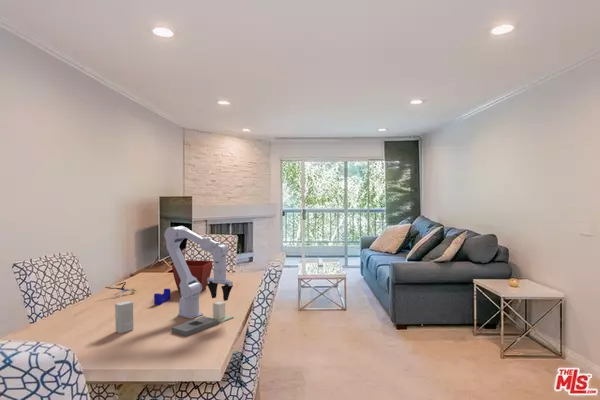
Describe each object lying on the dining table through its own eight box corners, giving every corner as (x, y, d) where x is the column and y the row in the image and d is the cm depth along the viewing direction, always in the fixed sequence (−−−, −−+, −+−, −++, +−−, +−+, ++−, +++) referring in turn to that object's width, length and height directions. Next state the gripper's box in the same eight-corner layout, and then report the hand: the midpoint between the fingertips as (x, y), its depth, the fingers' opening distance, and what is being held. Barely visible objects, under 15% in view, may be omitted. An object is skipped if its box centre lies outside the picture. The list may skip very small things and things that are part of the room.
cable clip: (162, 299, 218) (162, 288, 218) (170, 299, 217) (170, 288, 217) (151, 305, 206) (151, 293, 206) (159, 305, 205) (159, 294, 205)
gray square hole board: (171, 332, 165) (171, 327, 165) (203, 320, 180) (203, 316, 180) (186, 336, 160) (186, 331, 160) (217, 324, 176) (217, 319, 175)
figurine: (137, 306, 227) (101, 302, 215) (135, 298, 234) (100, 293, 223) (143, 291, 225) (107, 286, 214) (141, 283, 232) (106, 278, 221)
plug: (213, 318, 182) (212, 303, 182) (219, 315, 185) (219, 301, 185) (219, 319, 180) (219, 304, 180) (225, 317, 183) (225, 302, 183)
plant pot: (213, 287, 245) (213, 260, 245) (202, 294, 226) (202, 266, 226) (184, 286, 247) (184, 259, 247) (171, 294, 228) (171, 265, 228)
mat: (206, 319, 182) (206, 318, 182) (219, 314, 189) (219, 313, 189) (220, 323, 177) (220, 321, 177) (233, 317, 184) (233, 316, 184)
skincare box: (128, 327, 171) (128, 300, 170) (133, 329, 168) (133, 302, 168) (115, 331, 166) (114, 303, 166) (119, 333, 163) (119, 305, 163)
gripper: (202, 270, 183) (202, 298, 183) (225, 273, 175) (225, 303, 176) (213, 267, 189) (213, 295, 189) (235, 271, 181) (235, 300, 181)
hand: (219, 299), depth 183 cm, fingers open, 7 cm apart
